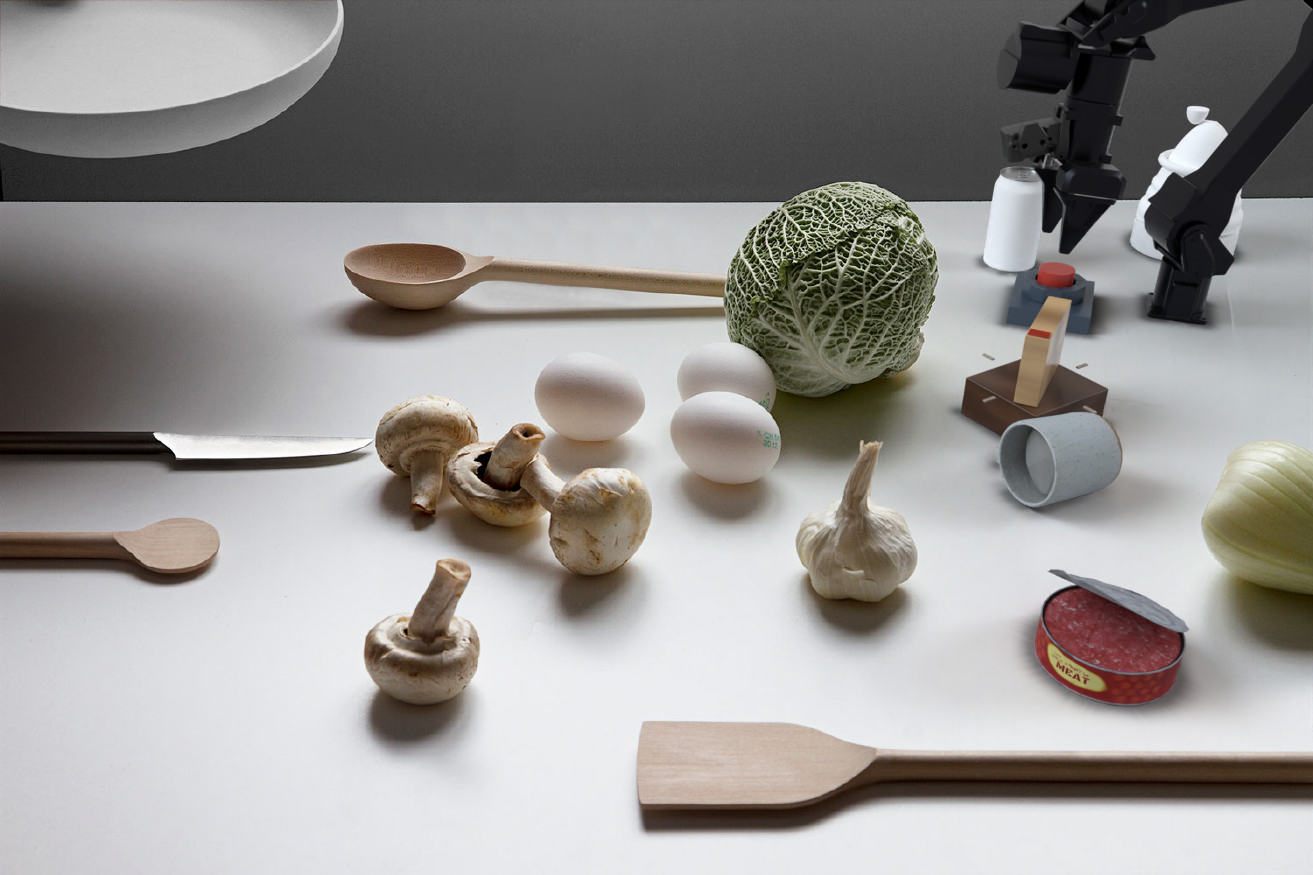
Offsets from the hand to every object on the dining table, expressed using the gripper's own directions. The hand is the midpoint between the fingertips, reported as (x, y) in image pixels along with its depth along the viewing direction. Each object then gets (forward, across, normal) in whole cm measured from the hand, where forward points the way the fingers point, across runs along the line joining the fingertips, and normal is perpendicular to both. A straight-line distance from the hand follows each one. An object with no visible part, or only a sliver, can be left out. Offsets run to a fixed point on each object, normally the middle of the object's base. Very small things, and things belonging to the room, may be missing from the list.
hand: (1054, 242), depth 126 cm
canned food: (+17, +57, -4) cm, 59 cm away
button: (+5, -4, +2) cm, 7 cm away
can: (+8, -18, 0) cm, 20 cm away
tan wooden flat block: (+9, +22, -4) cm, 24 cm away
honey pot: (+4, -26, +23) cm, 36 cm away
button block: (+9, -4, +3) cm, 10 cm away
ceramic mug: (+14, +34, -4) cm, 37 cm away
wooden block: (+13, +22, -4) cm, 26 cm away
